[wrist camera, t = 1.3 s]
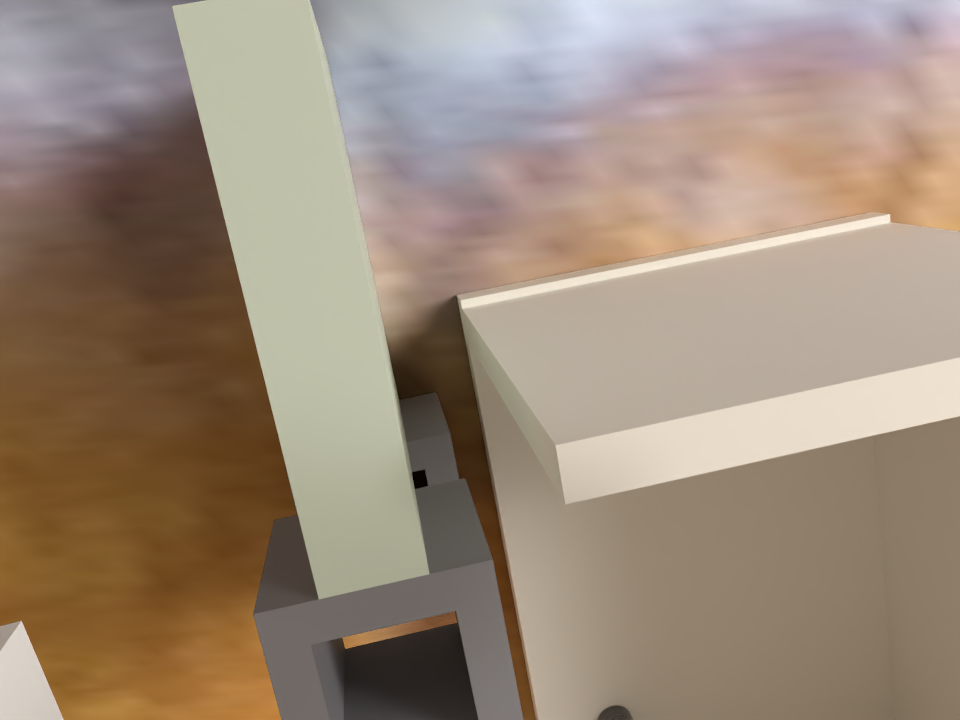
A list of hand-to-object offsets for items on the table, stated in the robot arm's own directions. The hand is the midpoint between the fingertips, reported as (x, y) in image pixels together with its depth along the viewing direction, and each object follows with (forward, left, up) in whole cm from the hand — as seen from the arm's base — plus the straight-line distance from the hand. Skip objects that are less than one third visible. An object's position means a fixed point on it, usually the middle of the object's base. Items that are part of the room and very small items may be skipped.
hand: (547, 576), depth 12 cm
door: (0, -3, -21) cm, 21 cm away
